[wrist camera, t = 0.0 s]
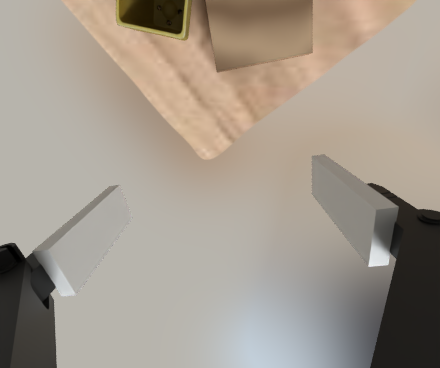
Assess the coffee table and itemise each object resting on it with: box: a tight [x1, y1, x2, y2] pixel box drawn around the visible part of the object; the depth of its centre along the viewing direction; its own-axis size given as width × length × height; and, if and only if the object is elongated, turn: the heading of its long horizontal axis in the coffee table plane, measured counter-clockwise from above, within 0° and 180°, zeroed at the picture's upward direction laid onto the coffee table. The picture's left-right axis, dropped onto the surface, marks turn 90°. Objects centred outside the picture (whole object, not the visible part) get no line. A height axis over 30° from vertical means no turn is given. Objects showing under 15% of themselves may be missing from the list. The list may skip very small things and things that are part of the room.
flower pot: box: [116, 0, 192, 40], centre depth 30 cm, size 9×9×9 cm
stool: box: [205, 0, 313, 72], centre depth 29 cm, size 12×12×10 cm
